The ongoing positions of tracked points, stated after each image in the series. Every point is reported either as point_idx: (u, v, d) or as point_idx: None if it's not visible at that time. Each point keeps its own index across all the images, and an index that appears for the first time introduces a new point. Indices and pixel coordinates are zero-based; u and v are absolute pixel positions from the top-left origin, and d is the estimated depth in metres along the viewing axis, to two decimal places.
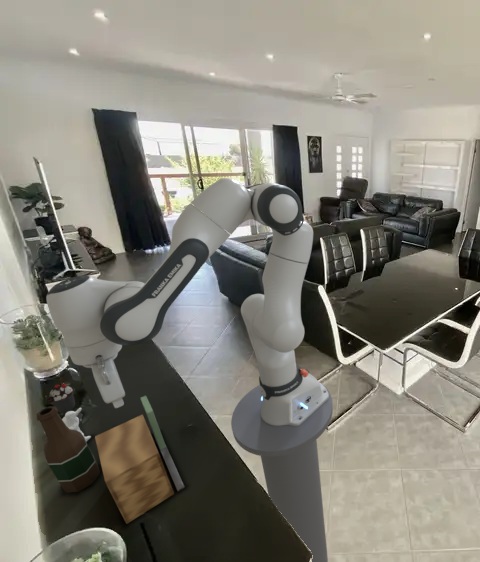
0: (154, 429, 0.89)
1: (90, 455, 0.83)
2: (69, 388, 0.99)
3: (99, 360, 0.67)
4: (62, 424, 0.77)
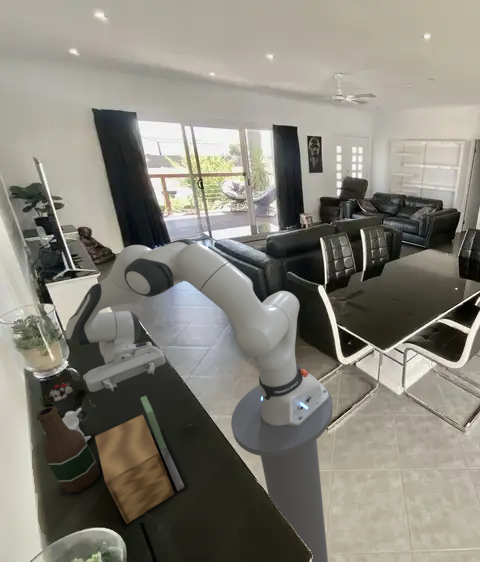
0: (154, 429, 0.89)
1: (90, 455, 0.83)
2: (69, 388, 0.99)
3: None
4: (62, 424, 0.77)
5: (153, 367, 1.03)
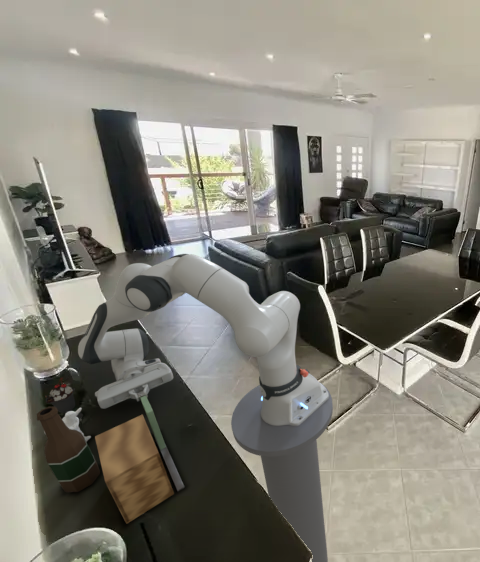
0: (154, 429, 0.89)
1: (90, 455, 0.83)
2: (69, 388, 0.99)
3: None
4: (62, 424, 0.77)
5: (147, 389, 1.04)
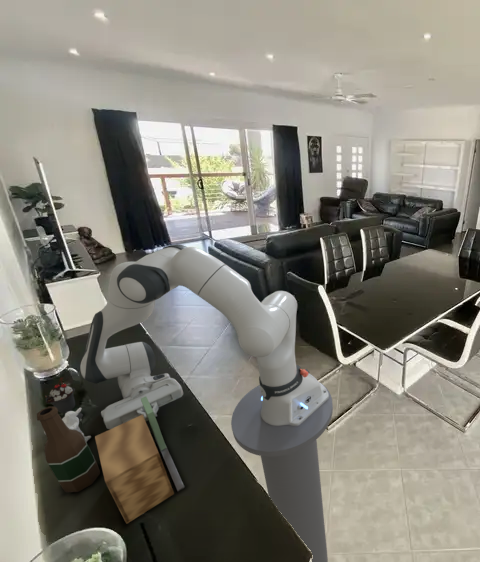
0: (154, 430, 0.89)
1: (90, 455, 0.83)
2: (69, 388, 0.99)
3: None
4: (62, 424, 0.77)
5: (156, 408, 0.98)
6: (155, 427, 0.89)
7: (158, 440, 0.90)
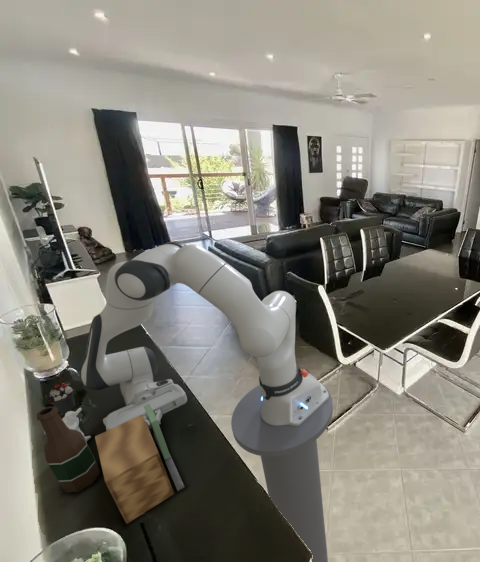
0: (158, 439, 0.86)
1: (90, 455, 0.83)
2: (69, 388, 0.99)
3: None
4: (62, 424, 0.77)
5: (159, 415, 0.95)
6: (159, 436, 0.86)
7: (162, 449, 0.88)
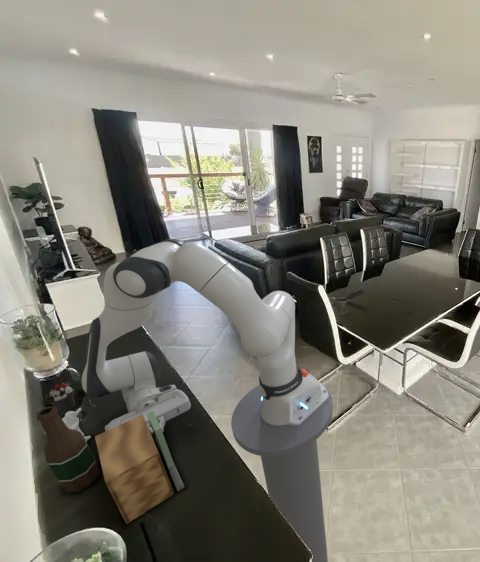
0: (162, 447, 0.84)
1: (90, 455, 0.83)
2: (69, 388, 0.99)
3: None
4: (62, 424, 0.77)
5: (163, 422, 0.93)
6: (163, 444, 0.84)
7: (166, 458, 0.85)
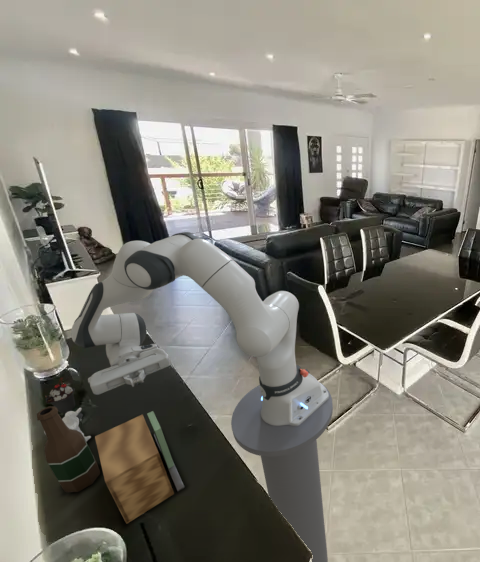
0: (162, 447, 0.84)
1: (90, 455, 0.83)
2: (69, 388, 0.99)
3: None
4: (62, 424, 0.77)
5: (143, 375, 0.98)
6: (163, 444, 0.84)
7: (166, 458, 0.85)
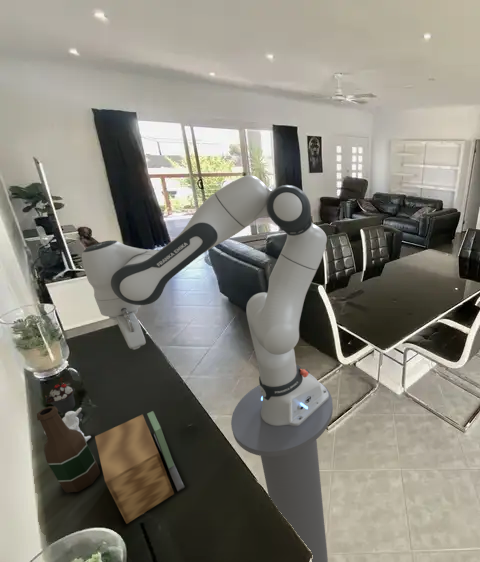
0: (162, 447, 0.84)
1: (90, 455, 0.83)
2: (69, 388, 0.99)
3: (124, 311, 0.80)
4: (62, 424, 0.77)
5: None
6: (163, 444, 0.84)
7: (166, 458, 0.85)
